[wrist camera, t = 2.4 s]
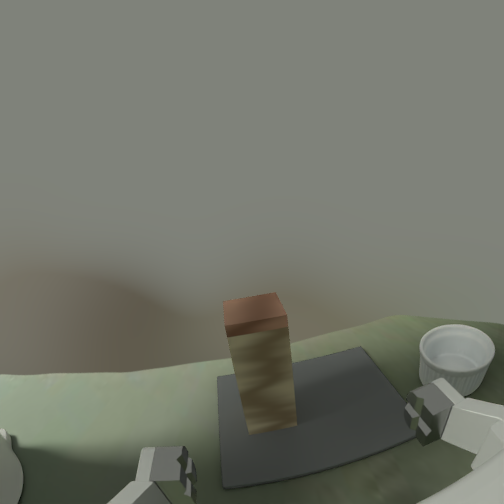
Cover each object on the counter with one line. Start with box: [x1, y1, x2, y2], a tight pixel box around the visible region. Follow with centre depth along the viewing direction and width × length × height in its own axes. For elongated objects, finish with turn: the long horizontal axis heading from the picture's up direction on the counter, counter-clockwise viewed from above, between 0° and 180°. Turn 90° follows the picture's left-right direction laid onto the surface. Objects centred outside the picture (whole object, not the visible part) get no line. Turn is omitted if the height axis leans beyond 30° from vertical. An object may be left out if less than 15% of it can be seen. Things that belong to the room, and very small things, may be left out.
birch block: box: [223, 293, 297, 435], centre depth 25 cm, size 4×4×12 cm
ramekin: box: [419, 324, 495, 397], centre depth 25 cm, size 9×9×4 cm
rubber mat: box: [217, 346, 416, 489], centre depth 27 cm, size 18×16×1 cm
